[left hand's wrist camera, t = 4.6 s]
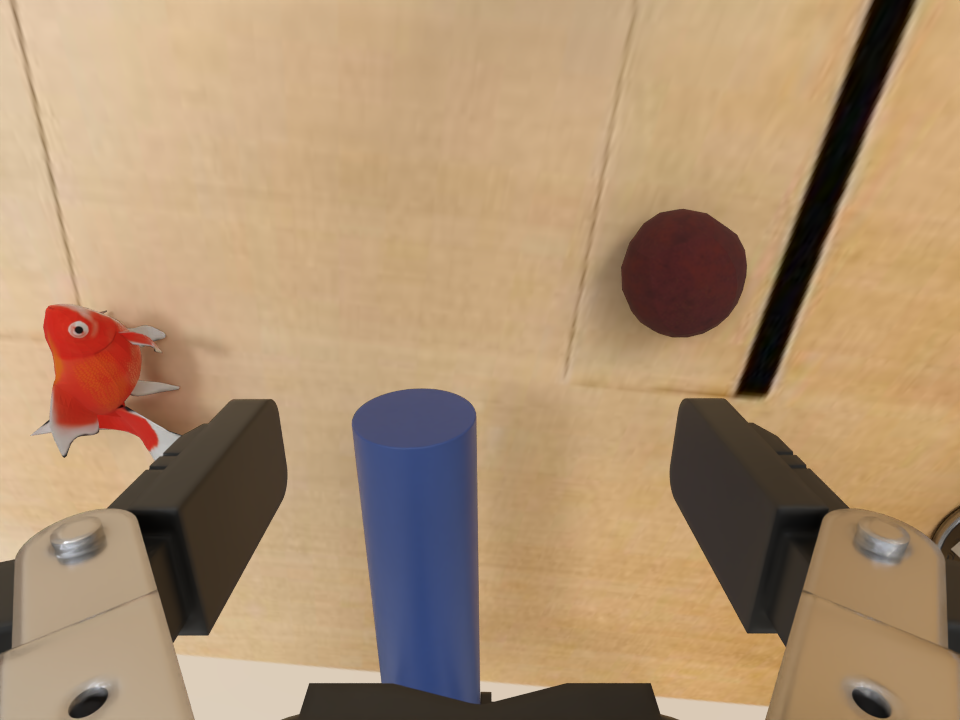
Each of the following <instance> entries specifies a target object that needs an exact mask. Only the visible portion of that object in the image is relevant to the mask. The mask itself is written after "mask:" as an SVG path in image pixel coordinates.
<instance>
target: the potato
mask: <svg viewBox="0 0 960 720" xmlns="http://www.w3.org/2000/svg"><path fill="white" fill-rule="evenodd" d="M746 270H747V263H746V255H745V249H744V247H743V245H742V244H741V242H740V240H739V238H738V236H737V234H735V233H734V232H733V231H731V230H730V229H728V228H727V227H726V226H724V225H723V224H721V223H720V222H718V221H717V220H716V219H714V218H713V217H711V216H710V215H708V214H707V213H702V212H697V211H691V210H686V209H678V210H673V211H667V212H661V213H659V214H657V215H656V216H654V217H653V218H651V219H650V220H648V221H647V222H645V223H644V224H643V225H642V227H641V228H640V230H639V231H638V232H637V234H636V235H635V236H634V238H633V239H632V240H631V242H630V243H629V246H628V249H627V252H626V255H625V258H624V261H623V264H622V267H621V271H622V290H623V292H624V295H625V297H626V299H627V302H628V304H629V306H630V309H631V311H632V312H633V314H634V315H635V316H636V317H637V319H638V320H639V321H640V322H641V323H642V324H644V325H646V326H647V327H649V328H650V329H652V330H654V331H656V332H658V333H660V334H663V335H667V336H670V337H691V336H695V335H699V334H703V333H705V332H707V331H709V330H710V329H712V328H714V327H716V326H718V325H719V324H720V323H721V322H722V321H723V320H724V319H726V318H727V317H728V316H729V314H730V313H731V312H732V310H733V309H734V307H735V306H736V305H737V303H738V300H739V298H740V296H741V293H742V291H743V287H744V283H745V279H746Z"/></svg>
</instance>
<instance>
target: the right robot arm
mask: <svg viewBox="0 0 960 720" xmlns="http://www.w3.org/2000/svg"><path fill="white" fill-rule="evenodd" d="M932 541H933V542H934V543H935V544H936V545H937V546H938V547H939V549H940V550H941V552H942V553H943V555H944V558H945V559H949V560H954V561H959V562H960V508H959V509H958V510H957V511H955V512H954V513H953V514H951V515H950V516H949V517H948V518H947V519H946V520H945V521H944V522H943V523H942V525H941V526H940V527H939V528H938V530H937V532H936V533H935V535H934V537H933V540H932ZM487 703H492V702H491V692H481V695H480V704H487Z"/></svg>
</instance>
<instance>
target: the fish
mask: <svg viewBox="0 0 960 720" xmlns="http://www.w3.org/2000/svg"><path fill="white" fill-rule="evenodd" d="M105 312H107V311H104V312H97V311H94V310H91V309H88V308H85V307H81V306H77V305H71V304H58V305H51V306H48V308H47V309H46V312H45V319H44V325H43V328H44V333H45V338H46V341H47V343H48V345H49V347H50V349H51V351H52V354H53V359H54V368H55V375H56V377H55V381H54V384H53V388H52V396H51V406H50V420H49V421H47V422H46V423H45V424H44V425H43V426H41V427H40V428H39V429H38V430H37V431H35V432H34V433H33V434H32V435H39V434H46V433H52V434H53V437H54V440H55V442H56V444H57V446H58V448H59V450H60V452H61V454H62V456H63V457H64V458H65V457H66V456H67V453H68V450H69V448H70V445H71V443H72V442H73V440H74V439H76V438H77V437H79V436H86V435H94V434H97V433H98V432H99V429H114V430H121V431H126V432H129V433H132V434H134V435H136V436H138V437H140V438H141V440H142V441H143V443H144V445H145V446H146V448H147V449H148V451H149V452H150V454H151V455H152V457H153V459H154V460H156V459H157V458H159V457H160V456H163V453H164V452H165V451H166V450H167V449H168V448H169V447H170V446H171V445H172V444H173V443H174V442H175V441H176V440H177V439H178V438H179V437H180V436H182V435H179V434H176V433H173V432H170V431H168V430H166V429H164V428H163V427H161V426H159V425H157V424H155V423H154V422H152V421H150V420H148V419H147V418H145V417H143V416H141V415H140V414H138V413H136V412H135V411H133V410H131V409H130V408H128V407H126V406H125V403H124V401H125V400H126V399H127V398H128V397H129V395H132V396H144V395H149V394H154V393H158V392H164V391H170V390H177V389H179V388H180V387H178V386H173V385H169V384H165V383H160V382H150V381H141V380H138V379H139V376H140V371H141V362H142V356H141V351H140V347H144V346H151V347H153V348H154V351H155V352H158V353H162V351H161V350H160V349H159V348H158V346H157V345H156V343H154V342H153V341H156V340H160V339H163V338H165V333H164V332H162V331H160V330H158V329H156V328H153V327H151V326H147V325H144V326H139V327H137V328H132V329H131V328H126V327H125V326H124V325H123V324H121V323H120V322H119V321H117V320H115V319H114V318H111V317H109V316H107V315H105V314H103V313H105ZM32 435H30V436H32Z"/></svg>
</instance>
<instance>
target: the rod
mask: <svg viewBox="0 0 960 720" xmlns="http://www.w3.org/2000/svg"><path fill="white" fill-rule="evenodd" d="M352 430H353V439H354V447H355V456H356V465H357V473H358V482H359V491H360V499H361V508H362V517H363V526H364V534H365V543H366V552H367V560H368V569H369V578H370V586H371V595H372V604H373V612H374V621H375V630H376V638H377V647H378V656H379V664H380V673H381V682H382V683H394V684H398V685H402V686H406V687H410V688H413V689H417V690H421V691H425V692H429V693H433V694H437V695H441V696H445V697H449V698H453V699H457V700H460V701H464V702H468V703H473V704H480V654H479V581H478V508H477V436H476V412H475V409H474V407H473V406H472V404H471V403H470V402H469V401H467V400H466V399H465V398H463V397H461V396H459V395H456V394H454V393H451V392H447V391H443V390H436V389H407V390H400V391H395V392H391V393H387V394H384V395H381V396H378V397H376V398H374V399H372V400H370V401H368V402H367V403H365V404H364V405H362V406H361V407H360V408H359V409H358V410H357V411H356V413H355V414H354V417H353V419H352Z"/></svg>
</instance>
